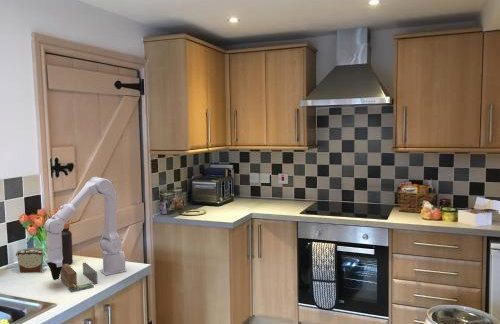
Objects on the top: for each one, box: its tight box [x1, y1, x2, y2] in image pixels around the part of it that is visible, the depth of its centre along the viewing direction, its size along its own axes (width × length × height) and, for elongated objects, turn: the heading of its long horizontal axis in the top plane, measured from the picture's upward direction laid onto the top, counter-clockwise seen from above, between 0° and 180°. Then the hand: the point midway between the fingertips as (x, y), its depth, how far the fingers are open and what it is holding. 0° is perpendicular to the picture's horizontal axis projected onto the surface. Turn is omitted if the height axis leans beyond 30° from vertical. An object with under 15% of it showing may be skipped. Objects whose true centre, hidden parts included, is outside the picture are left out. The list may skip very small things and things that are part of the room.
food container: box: [15, 247, 45, 274], centre depth 196 cm, size 12×6×10 cm, turn 92°
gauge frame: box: [68, 262, 98, 294], centre depth 182 cm, size 12×19×5 cm, turn 38°
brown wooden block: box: [59, 264, 78, 288], centre depth 179 cm, size 3×18×6 cm, turn 38°
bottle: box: [61, 221, 74, 266], centre depth 204 cm, size 7×7×20 cm
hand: (55, 279), depth 178 cm, fingers closed
